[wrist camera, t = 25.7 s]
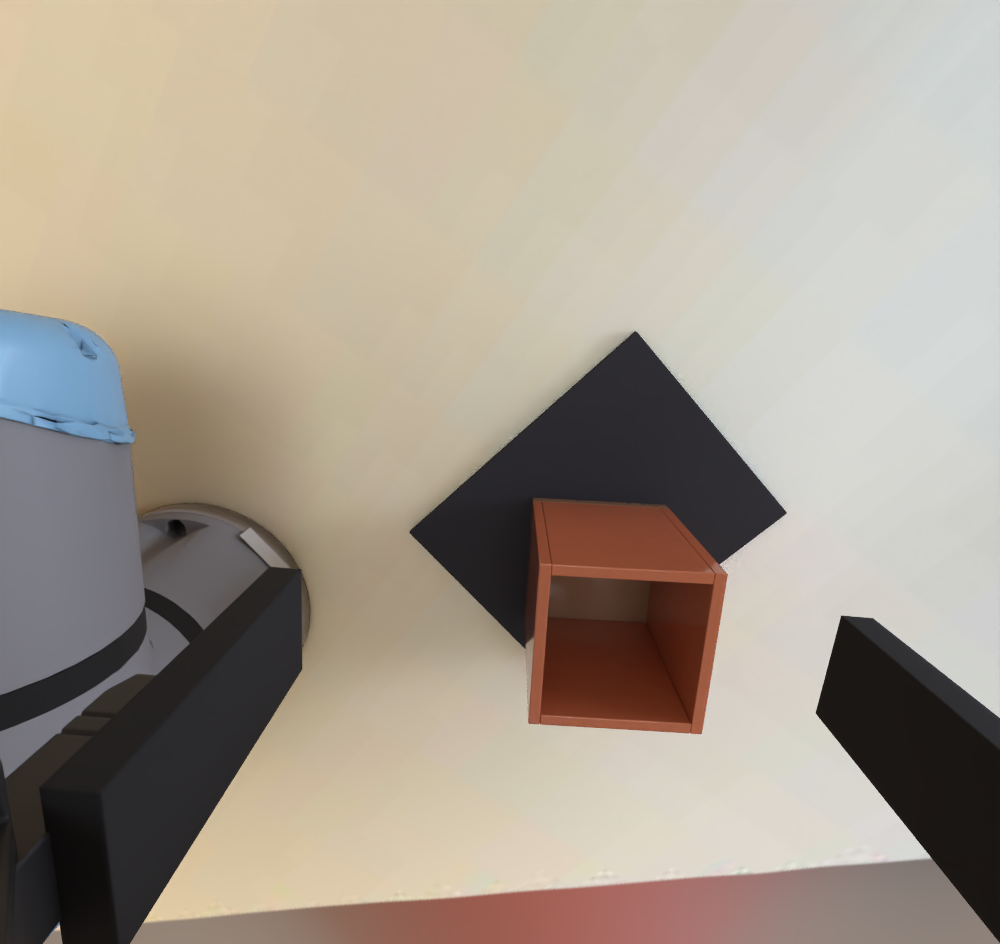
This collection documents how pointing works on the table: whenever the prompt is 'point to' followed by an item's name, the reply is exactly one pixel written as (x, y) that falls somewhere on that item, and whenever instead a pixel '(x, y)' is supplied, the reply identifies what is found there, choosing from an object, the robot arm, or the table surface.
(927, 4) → the table surface
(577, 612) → the open square box
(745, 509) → the mat
